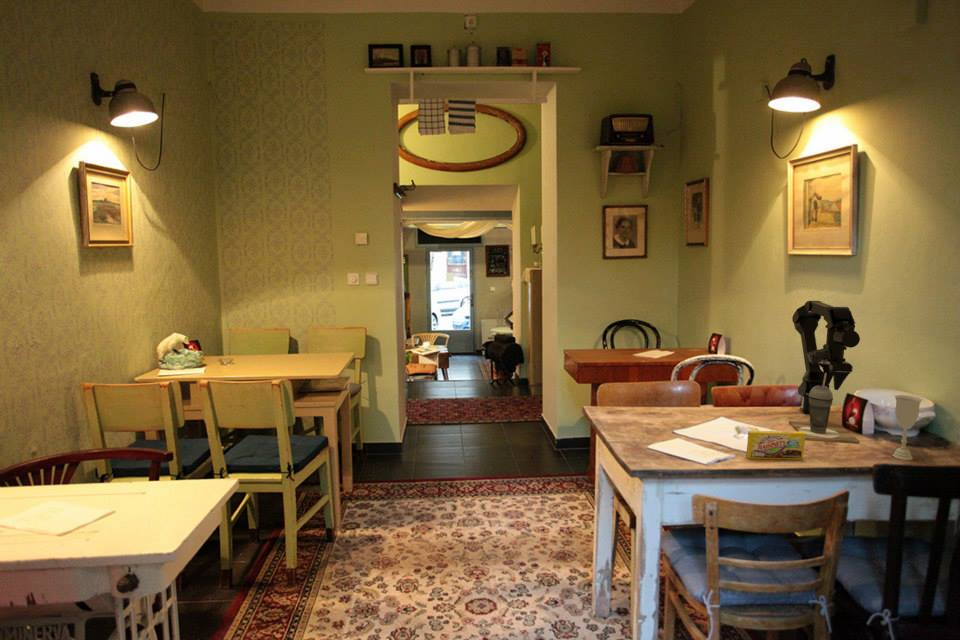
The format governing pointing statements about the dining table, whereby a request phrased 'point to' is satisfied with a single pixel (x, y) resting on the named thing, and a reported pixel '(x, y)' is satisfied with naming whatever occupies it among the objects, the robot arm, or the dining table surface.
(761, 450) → the candy box
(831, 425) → the walnut board
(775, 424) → the dining table surface
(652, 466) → the dining table surface
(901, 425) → the chalice
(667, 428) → the dining table surface
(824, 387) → the beverage cup
